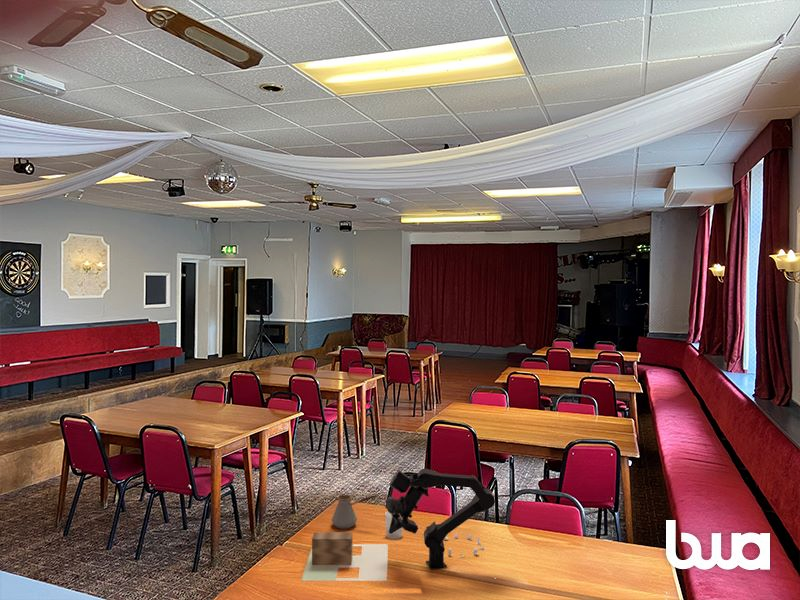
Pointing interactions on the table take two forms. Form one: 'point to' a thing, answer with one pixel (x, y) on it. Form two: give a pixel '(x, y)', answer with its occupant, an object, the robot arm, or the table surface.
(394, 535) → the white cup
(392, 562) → the table surface
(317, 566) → the trap board
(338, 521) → the coffee pot
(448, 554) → the game piece set
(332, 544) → the brown wooden block
